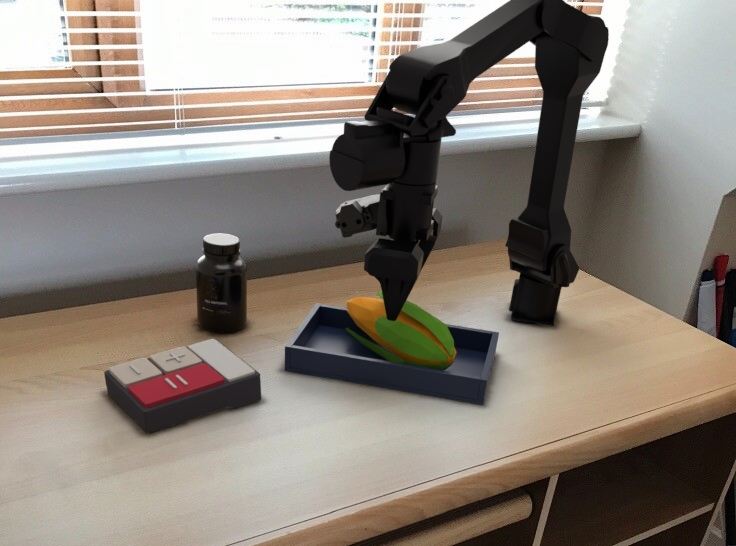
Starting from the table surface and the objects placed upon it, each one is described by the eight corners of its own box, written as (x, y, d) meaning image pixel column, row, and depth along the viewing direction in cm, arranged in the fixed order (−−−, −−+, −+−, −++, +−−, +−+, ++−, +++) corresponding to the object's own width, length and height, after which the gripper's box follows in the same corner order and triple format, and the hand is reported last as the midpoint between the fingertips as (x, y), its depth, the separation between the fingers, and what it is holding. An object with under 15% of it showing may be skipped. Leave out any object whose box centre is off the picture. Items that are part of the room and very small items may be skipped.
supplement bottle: (207, 337, 115) (204, 250, 107) (191, 317, 119) (186, 232, 112) (254, 330, 117) (254, 244, 110) (236, 311, 122) (235, 228, 115)
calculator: (101, 365, 99) (214, 332, 106) (107, 397, 101) (217, 363, 108) (143, 406, 92) (261, 368, 99) (148, 439, 94) (263, 400, 102)
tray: (495, 355, 116) (499, 332, 114) (482, 405, 104) (487, 380, 102) (315, 325, 120) (316, 303, 118) (284, 370, 108) (284, 346, 106)
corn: (433, 336, 100) (327, 278, 112) (423, 393, 105) (322, 331, 116) (475, 324, 104) (369, 269, 116) (464, 380, 109) (362, 322, 120)
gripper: (362, 151, 107) (354, 271, 116) (323, 191, 92) (317, 325, 101) (449, 162, 105) (434, 283, 114) (424, 205, 90) (409, 340, 100)
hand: (398, 306), depth 107 cm, fingers open, 9 cm apart
